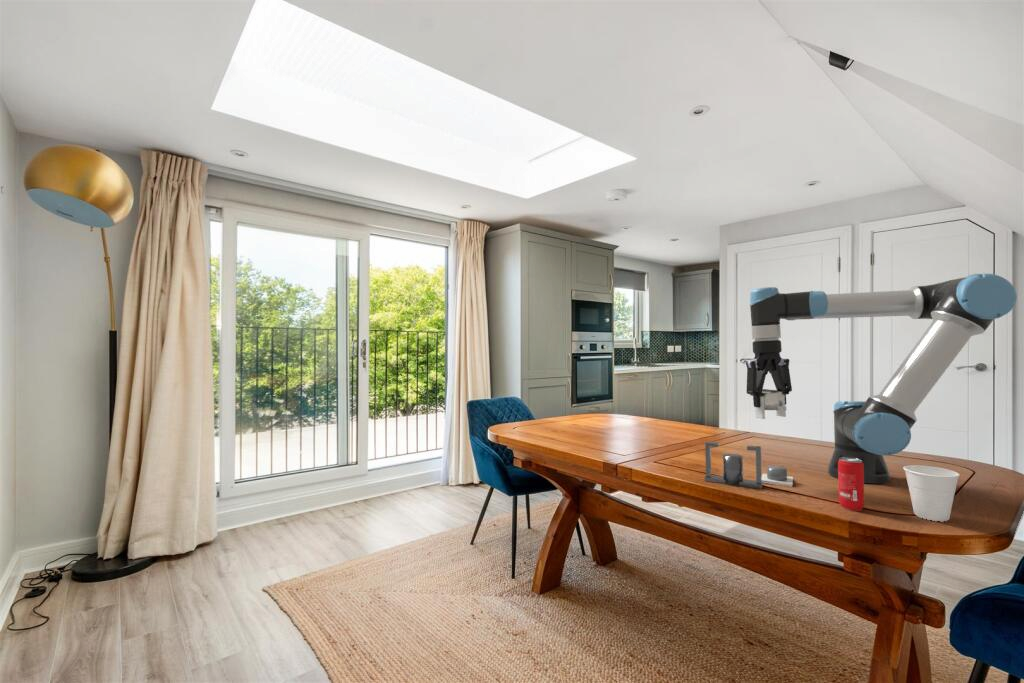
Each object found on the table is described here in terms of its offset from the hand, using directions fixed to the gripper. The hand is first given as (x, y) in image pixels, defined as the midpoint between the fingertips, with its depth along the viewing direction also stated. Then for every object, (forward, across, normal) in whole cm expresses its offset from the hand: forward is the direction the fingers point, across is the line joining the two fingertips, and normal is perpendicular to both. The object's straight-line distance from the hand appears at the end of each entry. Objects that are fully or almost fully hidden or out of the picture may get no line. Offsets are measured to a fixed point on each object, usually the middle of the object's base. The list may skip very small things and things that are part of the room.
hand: (770, 417), depth 139 cm
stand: (+19, -1, 0) cm, 19 cm away
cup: (+21, -13, +33) cm, 41 cm away
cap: (-2, 0, 0) cm, 2 cm away
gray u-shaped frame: (+19, +12, -3) cm, 22 cm away
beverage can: (+20, -1, +23) cm, 30 cm away
